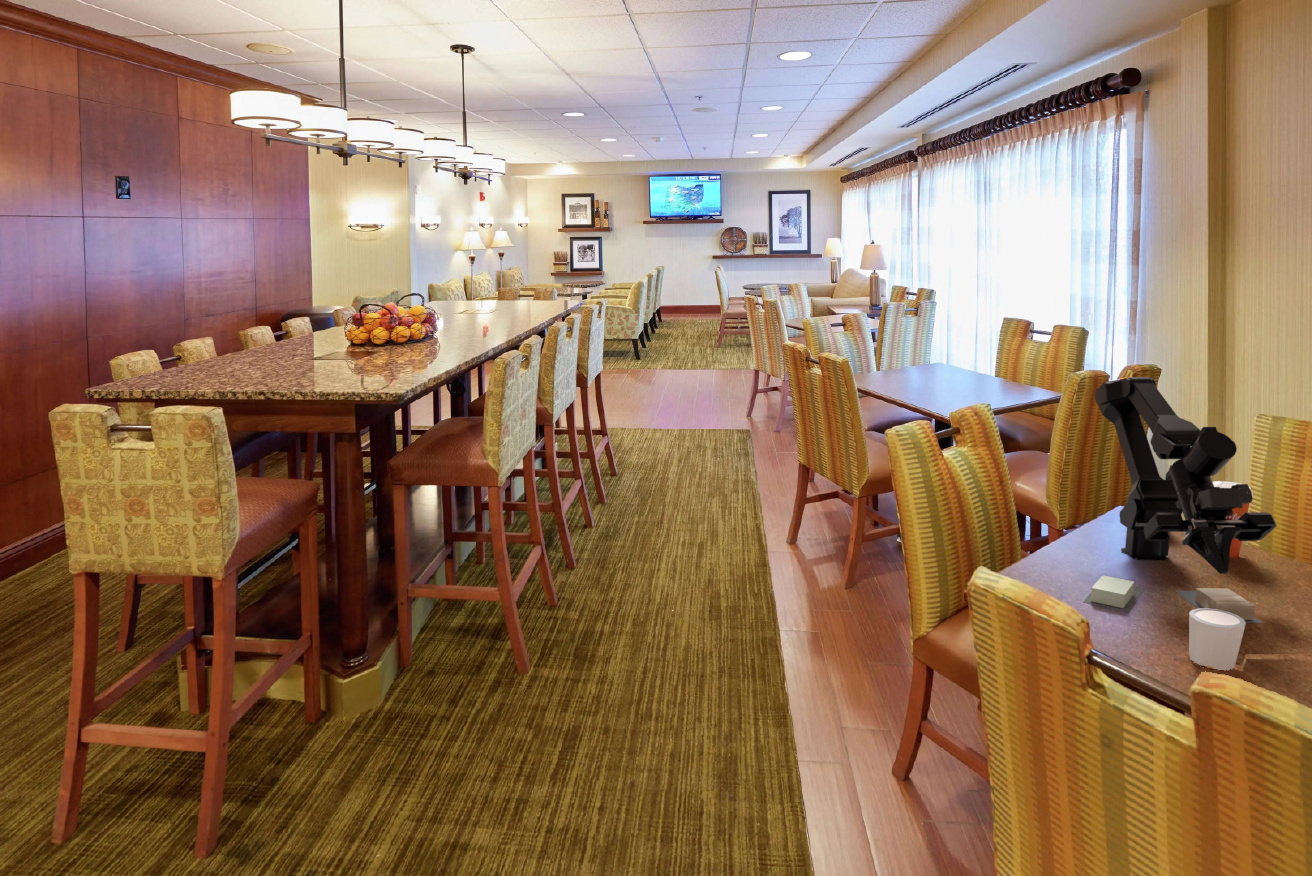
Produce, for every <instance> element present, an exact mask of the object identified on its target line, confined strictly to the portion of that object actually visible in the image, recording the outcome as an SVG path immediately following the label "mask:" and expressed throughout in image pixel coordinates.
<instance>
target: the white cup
mask: <svg viewBox="0 0 1312 876" xmlns="http://www.w3.org/2000/svg"><path fill="white" fill-rule="evenodd" d="M1188 615H1189V616H1188V658H1189V657H1190V658H1189V660H1190V661H1191V660H1192V661H1194V662H1195V663H1197V664H1199V665H1204V666H1210V667H1214V668H1215V669H1218V670H1217V671H1219V670H1224V671H1223V672H1225V671H1226V670H1227V671H1231V670H1234V669H1235V667H1236V663H1237V660H1238V657H1239V656H1238V655H1239V651H1240V648H1241V644H1242V640H1243V636H1244V633H1245V632H1244V631H1245V628H1246V624H1247V623H1246V622H1245V621H1244V619H1242V618H1241V617H1239V616H1238V615H1235V614H1233V613H1230V612H1227V611H1222V610H1218V609H1210V608H1195V609H1191V610H1190V611H1189V613H1188ZM1192 661H1191V662H1192ZM1194 662H1193V663H1194ZM1195 663H1194V664H1195ZM1197 664H1196V665H1197ZM1199 665H1198V666H1199ZM1230 669H1231V670H1230Z"/></svg>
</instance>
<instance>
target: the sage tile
mask: <svg viewBox="0 0 1312 876" xmlns="http://www.w3.org/2000/svg"><path fill="white" fill-rule="evenodd" d="M1134 585H1135V581H1134V580H1133V581H1132V580H1128V579H1122V578H1117V577H1114V576H1113V577H1112V576H1107V575H1102V576H1101V577H1100V578H1098V580H1097V581H1096V582H1095V583H1094V585H1093V586H1092V587H1091V591H1090V593H1091V601H1092V602H1097V603H1101V604H1106V605H1111V606H1115V607H1120V608H1124V607H1125V605H1126V604H1127V603H1128V601H1129V600H1130V599H1131V597H1132V596H1133V592H1134Z"/></svg>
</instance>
